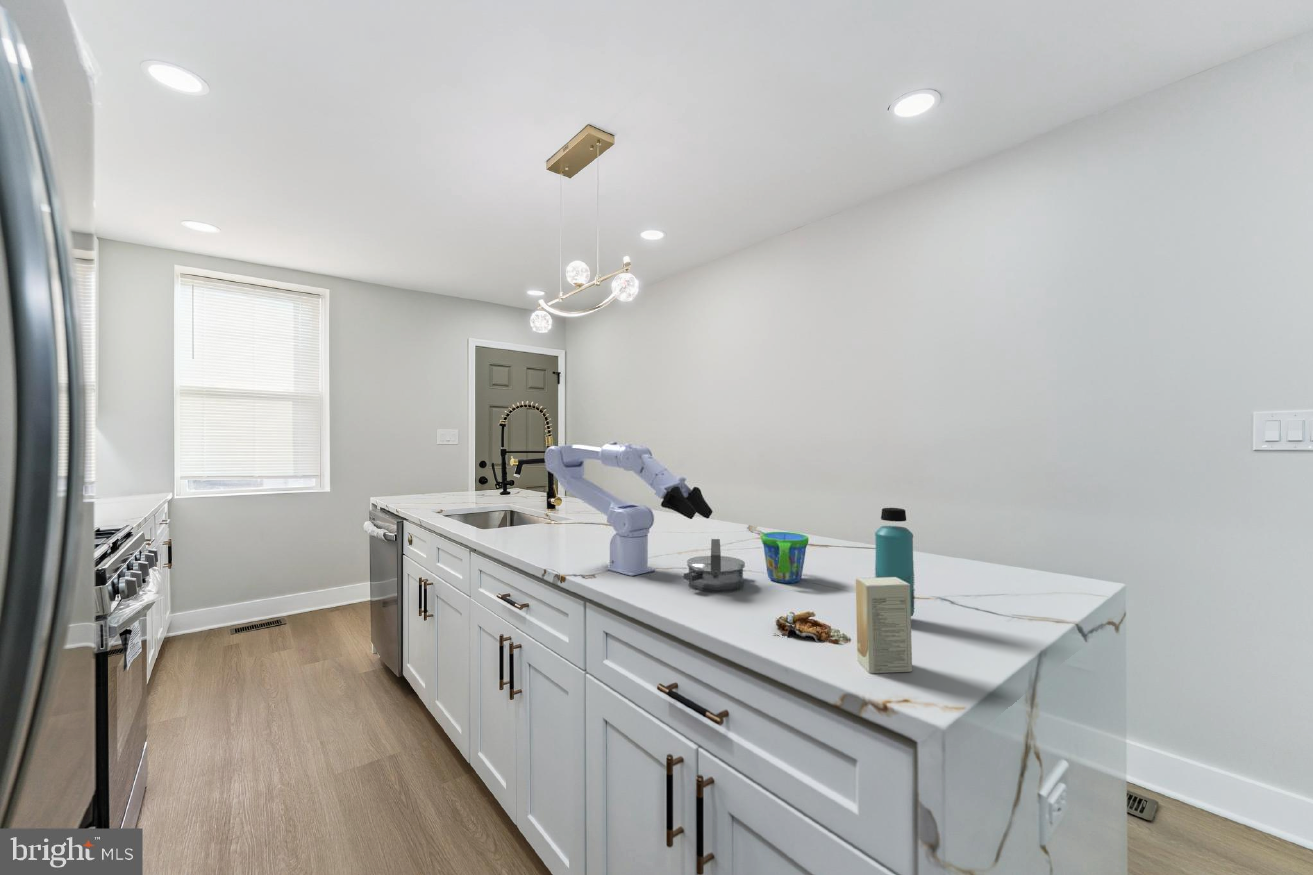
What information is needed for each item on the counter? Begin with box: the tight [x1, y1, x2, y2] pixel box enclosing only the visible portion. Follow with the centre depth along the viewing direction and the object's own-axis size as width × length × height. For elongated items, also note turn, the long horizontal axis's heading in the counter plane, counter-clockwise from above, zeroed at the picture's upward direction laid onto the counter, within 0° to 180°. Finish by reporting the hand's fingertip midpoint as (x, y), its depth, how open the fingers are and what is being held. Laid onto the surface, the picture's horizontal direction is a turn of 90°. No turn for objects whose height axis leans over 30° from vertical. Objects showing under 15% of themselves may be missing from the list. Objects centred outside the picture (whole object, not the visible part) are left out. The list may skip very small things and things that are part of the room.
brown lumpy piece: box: [771, 611, 850, 645], centre depth 88 cm, size 7×12×4 cm, turn 69°
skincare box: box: [855, 577, 913, 674], centre depth 75 cm, size 6×4×12 cm
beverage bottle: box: [874, 507, 916, 617], centre depth 95 cm, size 6×7×20 cm
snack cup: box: [760, 531, 809, 584], centre depth 123 cm, size 16×10×10 cm
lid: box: [686, 538, 745, 572], centre depth 118 cm, size 18×13×4 cm
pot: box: [683, 561, 746, 593], centre depth 118 cm, size 18×12×4 cm, turn 134°
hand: (702, 515), depth 119 cm, fingers open, 7 cm apart
